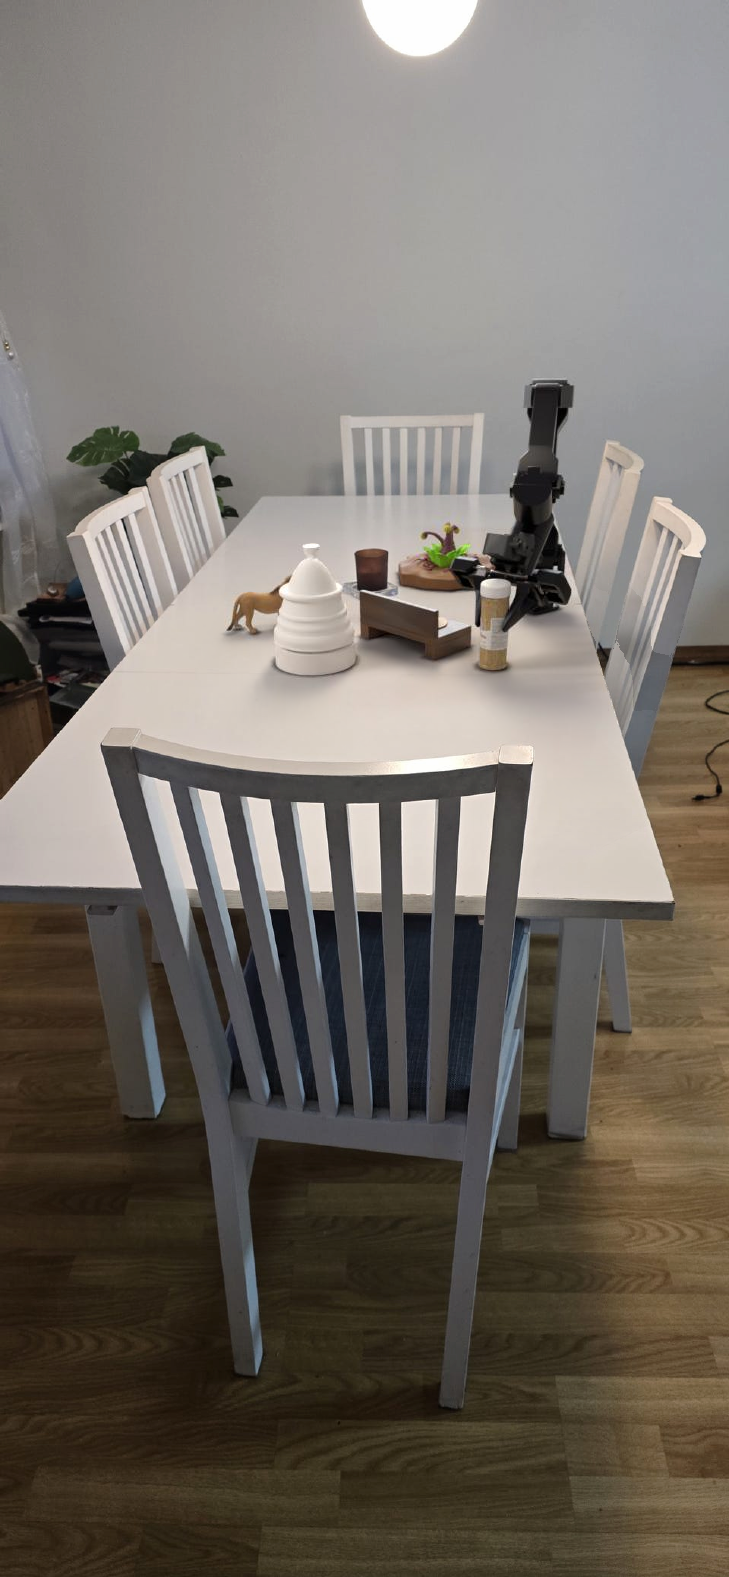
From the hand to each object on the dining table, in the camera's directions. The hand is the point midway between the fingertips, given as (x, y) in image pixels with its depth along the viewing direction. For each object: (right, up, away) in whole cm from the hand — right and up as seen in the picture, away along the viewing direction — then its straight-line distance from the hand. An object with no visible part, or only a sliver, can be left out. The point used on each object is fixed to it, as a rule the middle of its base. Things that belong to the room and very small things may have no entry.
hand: (489, 628), depth 151 cm
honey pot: (-27, -4, +8) cm, 29 cm away
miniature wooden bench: (-11, 0, +15) cm, 19 cm away
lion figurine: (-36, +4, +24) cm, 43 cm away
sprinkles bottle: (+1, -5, +4) cm, 7 cm away
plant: (-3, +18, +49) cm, 52 cm away
